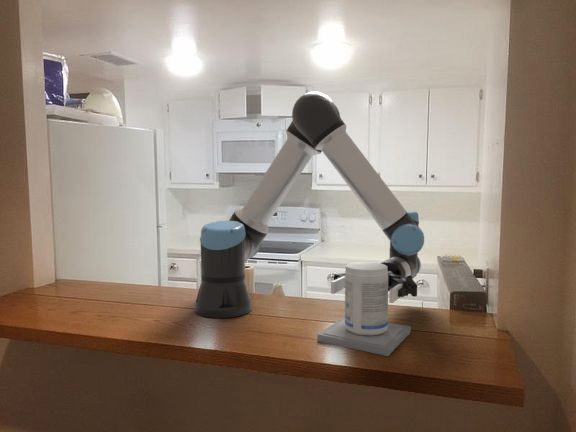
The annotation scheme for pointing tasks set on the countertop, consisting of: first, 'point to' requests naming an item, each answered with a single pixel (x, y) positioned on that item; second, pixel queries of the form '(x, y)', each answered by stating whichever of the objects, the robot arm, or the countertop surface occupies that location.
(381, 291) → the supplement tub
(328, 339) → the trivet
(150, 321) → the countertop surface
